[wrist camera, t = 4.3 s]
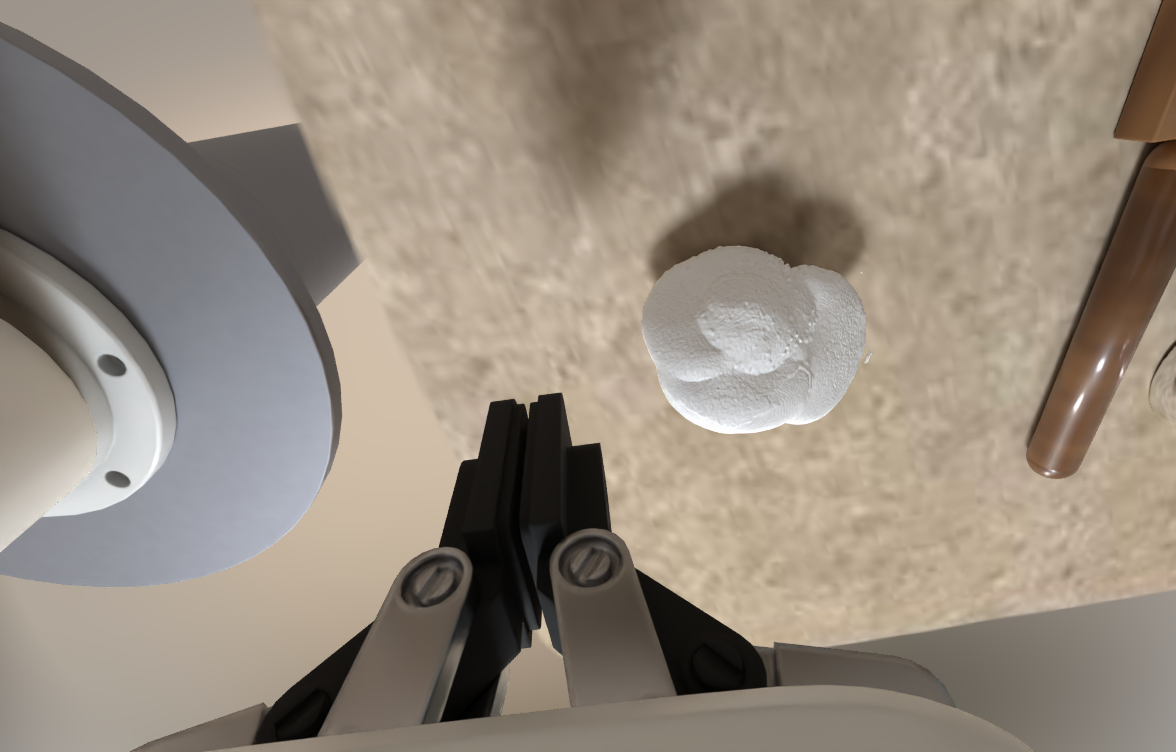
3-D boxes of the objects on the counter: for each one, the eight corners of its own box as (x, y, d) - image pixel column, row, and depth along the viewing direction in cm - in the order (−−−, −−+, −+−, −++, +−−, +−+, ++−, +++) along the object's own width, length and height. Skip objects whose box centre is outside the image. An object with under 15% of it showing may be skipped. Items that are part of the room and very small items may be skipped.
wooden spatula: (1068, 455, 21) (1104, 481, 20) (991, 466, 21) (1022, 492, 20) (1311, -75, 13) (1405, -93, 11) (1181, -55, 13) (1259, -71, 11)
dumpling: (636, 384, 19) (632, 431, 15) (648, 237, 17) (647, 248, 13) (835, 401, 18) (884, 454, 14) (869, 249, 16) (935, 264, 12)
